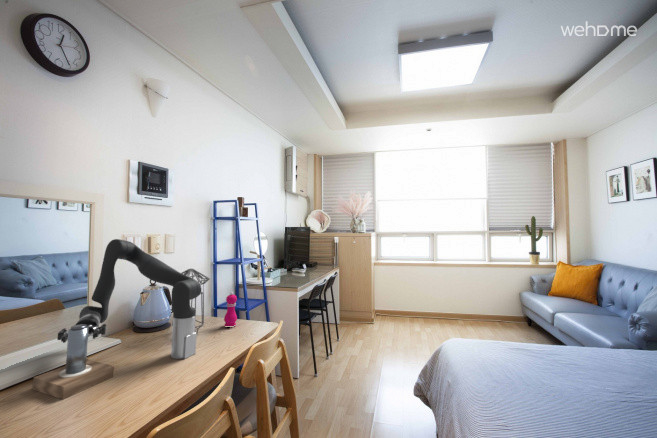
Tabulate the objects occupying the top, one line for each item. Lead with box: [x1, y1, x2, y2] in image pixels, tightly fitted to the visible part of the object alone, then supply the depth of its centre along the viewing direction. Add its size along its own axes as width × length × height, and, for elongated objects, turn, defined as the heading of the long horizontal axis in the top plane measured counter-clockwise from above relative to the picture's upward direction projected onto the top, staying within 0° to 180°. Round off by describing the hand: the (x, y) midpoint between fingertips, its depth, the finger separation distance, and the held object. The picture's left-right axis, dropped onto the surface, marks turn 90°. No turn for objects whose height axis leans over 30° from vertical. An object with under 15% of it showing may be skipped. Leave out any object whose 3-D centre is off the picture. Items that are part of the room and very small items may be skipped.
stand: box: [32, 358, 115, 400], centre depth 105 cm, size 16×16×4 cm
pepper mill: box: [223, 291, 238, 327], centre depth 171 cm, size 7×7×20 cm
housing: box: [65, 324, 89, 374], centre depth 106 cm, size 6×6×16 cm
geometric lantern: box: [171, 268, 211, 334], centre depth 157 cm, size 16×16×35 cm
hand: (79, 338), depth 108 cm, fingers open, 8 cm apart
